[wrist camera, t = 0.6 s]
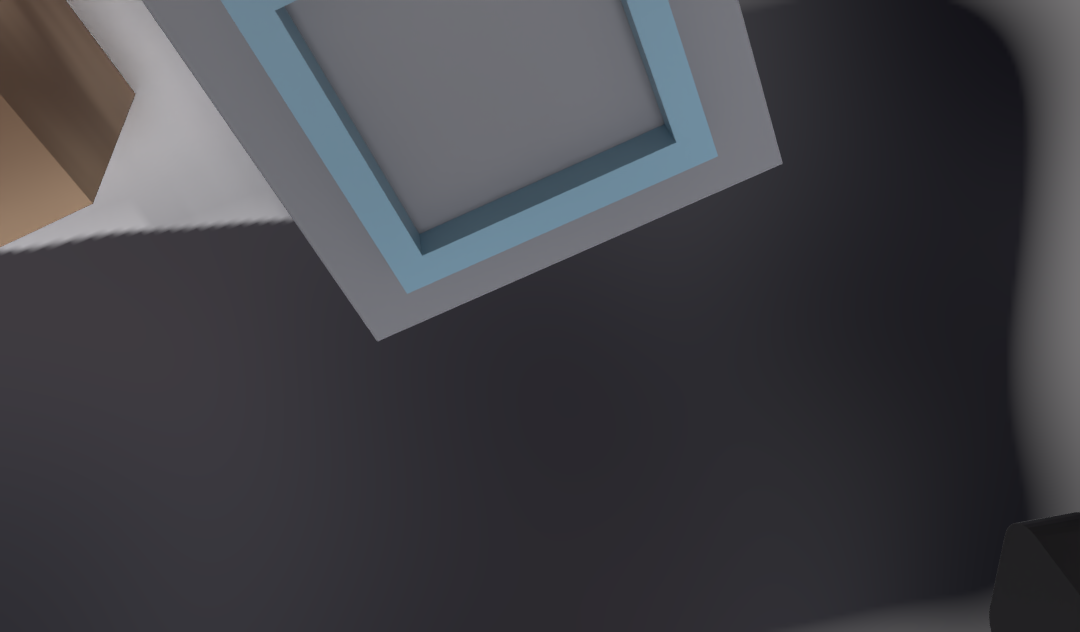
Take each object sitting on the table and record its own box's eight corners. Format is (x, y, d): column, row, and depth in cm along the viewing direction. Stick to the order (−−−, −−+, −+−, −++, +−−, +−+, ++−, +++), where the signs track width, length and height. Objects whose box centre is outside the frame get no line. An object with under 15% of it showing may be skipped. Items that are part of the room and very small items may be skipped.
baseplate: (103, -78, 23) (85, -52, 22) (634, -345, 22) (659, -340, 20) (376, 323, 32) (378, 364, 30) (771, 148, 31) (797, 182, 29)
